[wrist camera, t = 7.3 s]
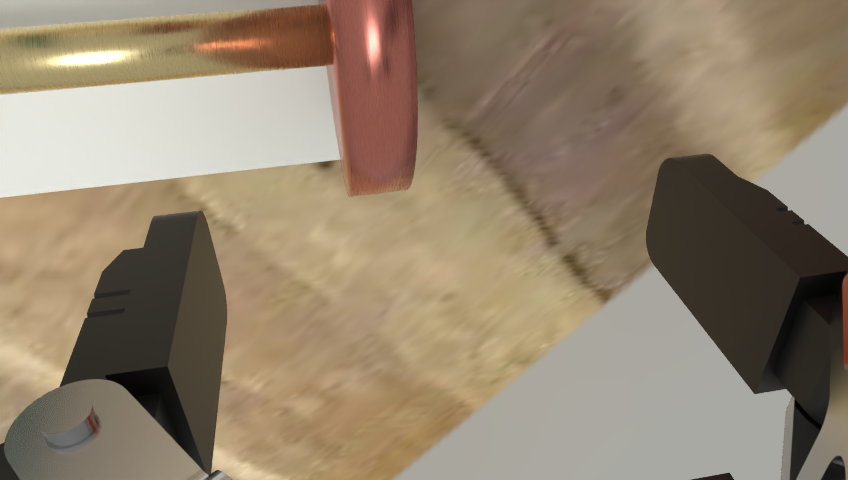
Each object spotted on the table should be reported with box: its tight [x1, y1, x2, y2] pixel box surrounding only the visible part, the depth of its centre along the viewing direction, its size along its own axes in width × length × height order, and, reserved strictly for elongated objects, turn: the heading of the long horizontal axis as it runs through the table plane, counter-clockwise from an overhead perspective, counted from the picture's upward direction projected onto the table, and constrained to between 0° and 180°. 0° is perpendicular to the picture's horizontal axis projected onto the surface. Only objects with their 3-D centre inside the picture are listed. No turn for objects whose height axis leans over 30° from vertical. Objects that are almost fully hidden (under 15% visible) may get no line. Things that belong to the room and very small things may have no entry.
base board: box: [0, 0, 340, 197], centre depth 23 cm, size 26×14×1 cm, turn 91°
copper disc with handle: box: [0, 0, 418, 197], centre depth 19 cm, size 18×10×10 cm, turn 91°
